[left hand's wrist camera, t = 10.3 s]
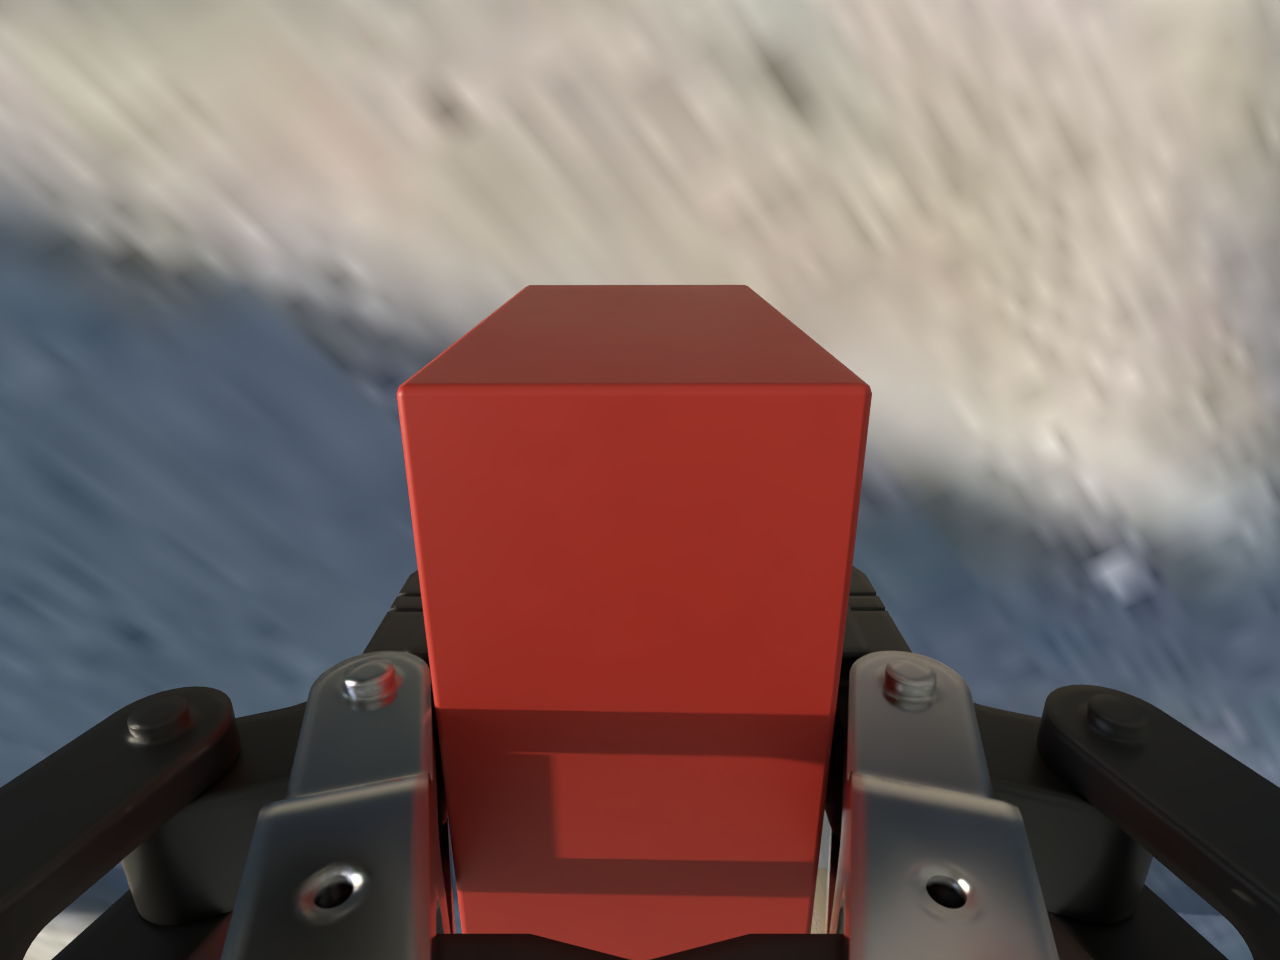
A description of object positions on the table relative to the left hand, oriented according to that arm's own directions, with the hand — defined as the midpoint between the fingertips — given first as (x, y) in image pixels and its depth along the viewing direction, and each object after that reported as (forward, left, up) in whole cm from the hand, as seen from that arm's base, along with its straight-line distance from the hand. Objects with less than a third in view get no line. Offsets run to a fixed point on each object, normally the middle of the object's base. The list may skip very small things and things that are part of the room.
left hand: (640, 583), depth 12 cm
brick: (0, 0, -3) cm, 3 cm away
